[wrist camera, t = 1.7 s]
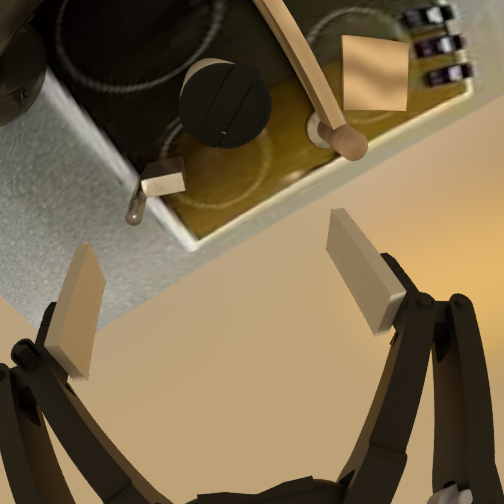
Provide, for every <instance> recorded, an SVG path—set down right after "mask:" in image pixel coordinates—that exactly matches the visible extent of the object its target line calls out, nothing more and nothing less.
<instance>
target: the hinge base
mask: <svg viewBox="0 0 504 504" xmlns="http://www.w3.org/2000/svg"><path fill="white" fill-rule="evenodd" d="M342 115H343V113H342ZM343 118H344V120H345V122H346V125H348V124H347V120H346V118H345V116H344V115H343ZM320 121H321V120H320V118H319V116H318V114H317V112H316V110H314V111H313V112H312V113H311V114H310V115H309V117H308V119H307V121H306V133H307V136H308V138H309V139H310V140H311V141H312V142H313V143H314V144H315V145H317V146H319V147H321V148H332V147H331V146H330V145H329V144H327V143H326V142H325V141H324V140H322V139H321V138H320V137H319V135H318V132H317V128H318V124H319V123H320Z"/></svg>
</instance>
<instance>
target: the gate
mask: <svg viewBox="0 0 504 504" xmlns="http://www.w3.org/2000/svg"><path fill="white" fill-rule="evenodd" d="M252 1H253V2H254V4H255V5H256V7H257V8H258V10H259V11H260V13H261V14H262V16H263V17H264V19H265V21H266V22H267V24H268V25H269V27H270V29H271V30H272V32H273V33H274V35H275V37H276V38H277V40H278V42H279V43H280V45H281V47H282V49H283V50H284V52H285V54H286V56H287V57H288V59H289V61H290V63H291V64H292V66H293V68H294V70H295V72H296V73H297V75H298V77H299V79H300V81H301V83H302V85H303V87H304V88H305V90H306V92H307V94H308V96H309V98H310V100H311V102H312V104H313V106H314V108H315V110H316V112H317V114H318V116H319V118H320V120H321V121H320V123H319V124H318V128H317V132H318V135H319V137H320V138H321V139H322V140H324V141H325V142H326V143H327V144H329V145H330V146H331V147H332V148H334V149H335V150H336V151H337V152H339V153H340V154H341V155H342V156H343V157H345V158H346V159H347V160H350V161H356V160H359V159H361V158H362V157H363V156H364V155H365V154H366V152H367V149H368V141H367V139H366V137H365V136H364V135H363V134H361V133H360V132H358V131H356V130H355V129H353V128H351V127H350V126H348V125H346V122H345V120H344V118H343V115H342V113H341V111H340V109H339V106H338V104H337V102H336V100H335V98H334V95H333V93H332V91H331V89H330V87H329V85H328V83H327V81H326V79H325V77H324V75H323V73H322V71H321V69H320V67H319V65H318V63H317V61H316V59H315V57H314V55H313V53H312V51H311V49H310V48H309V46H308V44H307V42H306V40H305V38H304V37H303V35H302V33H301V31H300V30H299V28H298V26H297V24H296V23H295V21H294V19H293V18H292V16H291V14H290V13H289V11H288V9H287V8H286V6H285V4H284V3H283V1H282V0H252Z"/></svg>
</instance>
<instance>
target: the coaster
mask: <svg viewBox="0 0 504 504" xmlns="http://www.w3.org/2000/svg"><path fill="white" fill-rule="evenodd" d="M340 37H341V67H342V110H398V111H406V102H407V83H408V43H402V42H397V41H390V40H384V39H376V38H368V37H359V36H348V35H340Z"/></svg>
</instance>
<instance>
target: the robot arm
mask: <svg viewBox="0 0 504 504" xmlns="http://www.w3.org/2000/svg"><path fill="white" fill-rule="evenodd" d="M43 1H44V0H0V126H3V125H5V124H8V123H9V122H11V121H13V120H15V119H17V118H18V117H20V116H21V115H22V114H23V113H25V112H26V111H27V110H28V108H29V107H30V106H31V105H32V104H33V102H34V101H35V99H36V97H37V96H38V94H39V92H40V89H41V87H42V84H43V81H44V77H45V73H46V64H47V57H46V49H45V45H44V42H43V39H42V37H41V36H40V34H39V32H38V31H37V30H36V29H35V28H34V27H33V26H31V25H30V24H27V23H25V22H26V21H27V20H28V19H29V17H30V16H31V15H32V14H33V13H34V11H35V10H36V9H37V8H38V7H39V6H40V4H41V3H42V2H43ZM326 249H327V251H328V253H329V255H330V257H331V259H332V260H333V262H334V264H335V265H336V267H337V269H338V270H339V272H340V274H341V276H342V277H343V279H344V281H345V283H346V285H347V286H348V288H349V290H350V292H351V293H352V295H353V297H354V299H355V301H356V303H357V304H358V306H359V308H360V310H361V312H362V313H363V315H364V317H365V319H366V321H367V323H368V325H369V326H370V328H371V330H372V332H373V334H374V336H379V335H382V334H386V333H389V331H390V329H391V326H392V325H393V326H394V328H395V330H396V332H395V334H394V336H393V338H392V340H391V342H390V345H391V347H390V351H389V354H388V357H387V361H386V364H385V367H384V370H383V373H382V376H381V379H380V382H379V385H378V388H377V391H376V394H375V397H374V400H373V402H372V405H371V408H370V410H369V413H368V416H367V418H366V421H365V423H364V426H363V428H362V431H361V433H360V435H359V438H358V440H357V442H356V445H355V448H354V450H353V452H352V454H351V456H350V458H349V460H348V462H347V463H346V465H345V466H344V468H343V470H342V472H341V474H340V475H339V477H338V479H337V481H336V482H333V481H329V480H323V479H313V477H312V476H309V477H305V478H300V479H296V480H292V481H287V482H284V483H281V484H279V485H277V486H275V487H273V488H270V489H268V490H266V491H264V492H261V493H259V494H241V493H230V492H220V493H210V494H198V495H197V499H194V500H192V501H190V502H187V503H186V504H390V503H391V502H392V499H393V497H394V494H395V492H396V489H397V487H398V484H399V481H400V479H401V477H402V474H403V471H404V469H405V465H406V462H407V454H406V447H407V444H408V441H409V438H410V435H411V431H412V428H413V425H414V421H415V417H416V414H417V410H418V406H419V403H420V398H421V394H422V390H423V385H424V381H425V377H426V372H427V366H428V362H429V356H430V351H432V363H433V379H434V407H435V408H434V409H435V428H434V455H433V470H432V487H433V495H432V496H431V497H430V498H429V500H428V502H427V504H504V494H503V490H502V487H501V483H500V479H499V475H498V472H497V468H496V465H495V456H494V455H495V451H494V450H495V449H494V426H493V413H492V403H491V395H490V387H489V380H488V373H487V367H486V361H485V356H484V351H483V346H482V341H481V336H480V332H479V327H478V323H477V320H476V315H475V311H474V307H473V304H472V302H471V300H469V298H468V297H466V296H465V295H463V294H459V293H458V294H453V295H452V296H451V298H450V299H449V301H435V300H434V298H433V297H431V296H430V295H429V294H427V293H423V292H419V291H418V289H417V288H416V286H415V285H414V284H413V282H412V281H411V279H410V278H409V277H408V275H407V274H406V273H405V272H404V270H403V269H402V267H400V265H399V263H398V262H397V261H396V259H395V258H393V257H392V256H391V255H389V254H388V253H381V254H379V253H378V251H377V250H376V249H375V247H373V245H372V244H371V242H370V241H369V240H368V238H367V237H366V236H365V234H364V233H363V232H362V231H361V229H360V228H359V227H358V225H357V224H356V223H355V222H354V220H353V219H352V218H351V217H350V215H349V214H348V213H347V212H346V211H345V209H344V208H340V209H331V215H330V223H329V231H328V239H327V247H326ZM105 283H106V280H105V278H104V276H103V274H102V271H101V269H100V267H99V264H98V262H97V259H96V257H95V255H94V252H93V250H92V247H91V245H90V244H85V245H79V246H78V247H77V250H76V252H75V255H74V257H73V260H72V262H71V265H70V267H69V270H68V272H67V275H66V278H65V281H64V283H63V286H62V289H61V292H60V295H59V298H58V301H57V302H51V303H50V304H49V306H48V307H47V309H46V310H45V312H44V315H43V318H42V319H43V321H42V322H41V325H40V328H39V331H38V335H37V338H36V341H35V344H34V343H33V342H32V341H31V340H30V339H22V340H20V341H18V342H17V343H16V344H15V345H14V347H13V349H12V351H11V359H12V360H13V362H14V363H15V364H16V365H17V366H16V367H13V368H9V367H8V366H7V365H6V364H4V363H0V451H1V456H2V460H3V464H4V468H5V471H6V475H7V478H8V482H9V485H10V488H11V491H12V494H13V497H14V500H15V503H16V504H76V503H75V501H74V499H73V497H72V495H71V493H70V490H69V488H68V486H67V483H66V481H65V478H64V476H63V474H62V471H61V469H60V466H59V464H58V461H57V458H56V455H55V453H54V449H53V446H52V444H51V440H50V438H49V434H48V431H47V428H46V425H45V421H44V418H43V414H44V416H45V418H46V419H47V421H48V423H49V425H50V426H51V428H52V430H53V431H54V433H55V435H56V436H57V438H58V440H59V441H60V443H61V444H62V446H63V448H64V449H65V451H66V452H67V454H68V455H69V457H70V458H71V460H72V461H73V462H74V464H75V465H76V467H77V468H78V469H79V471H80V472H81V473H82V475H83V476H84V478H85V479H86V480H87V482H88V483H89V484H90V486H91V487H92V488H93V489H94V491H95V492H96V493H97V494H98V496H99V497H100V498H101V500H102V501H103V503H104V504H173V503H172V502H171V501H170V500H168V499H167V498H166V497H165V496H163V495H162V494H161V493H159V492H158V491H157V490H156V489H155V488H154V487H153V486H152V485H151V484H150V483H149V482H148V481H147V480H146V479H145V478H144V477H143V476H142V475H141V474H140V473H139V472H138V471H137V470H136V469H135V468H134V467H133V466H132V464H131V463H130V462H129V461H128V460H127V459H126V458H125V457H124V455H123V454H122V453H121V452H120V451H119V450H118V449H117V447H116V446H115V445H114V444H113V443H112V441H111V440H110V439H109V438H108V437H107V435H106V434H105V433H104V432H103V430H102V429H101V428H100V426H99V425H98V424H97V423H96V421H95V420H94V419H93V417H92V416H91V415H90V413H89V412H88V411H87V409H86V408H85V406H84V405H83V403H82V402H81V401H80V399H79V398H78V396H77V395H76V393H75V392H74V390H73V389H72V387H71V386H70V385H69V383H67V379H68V375H69V376H70V377H71V378H72V379H73V381H88V376H89V369H90V362H91V355H92V349H93V343H94V337H95V331H96V326H97V321H98V316H99V311H100V306H101V301H102V296H103V292H104V288H105ZM42 412H43V414H42Z"/></svg>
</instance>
